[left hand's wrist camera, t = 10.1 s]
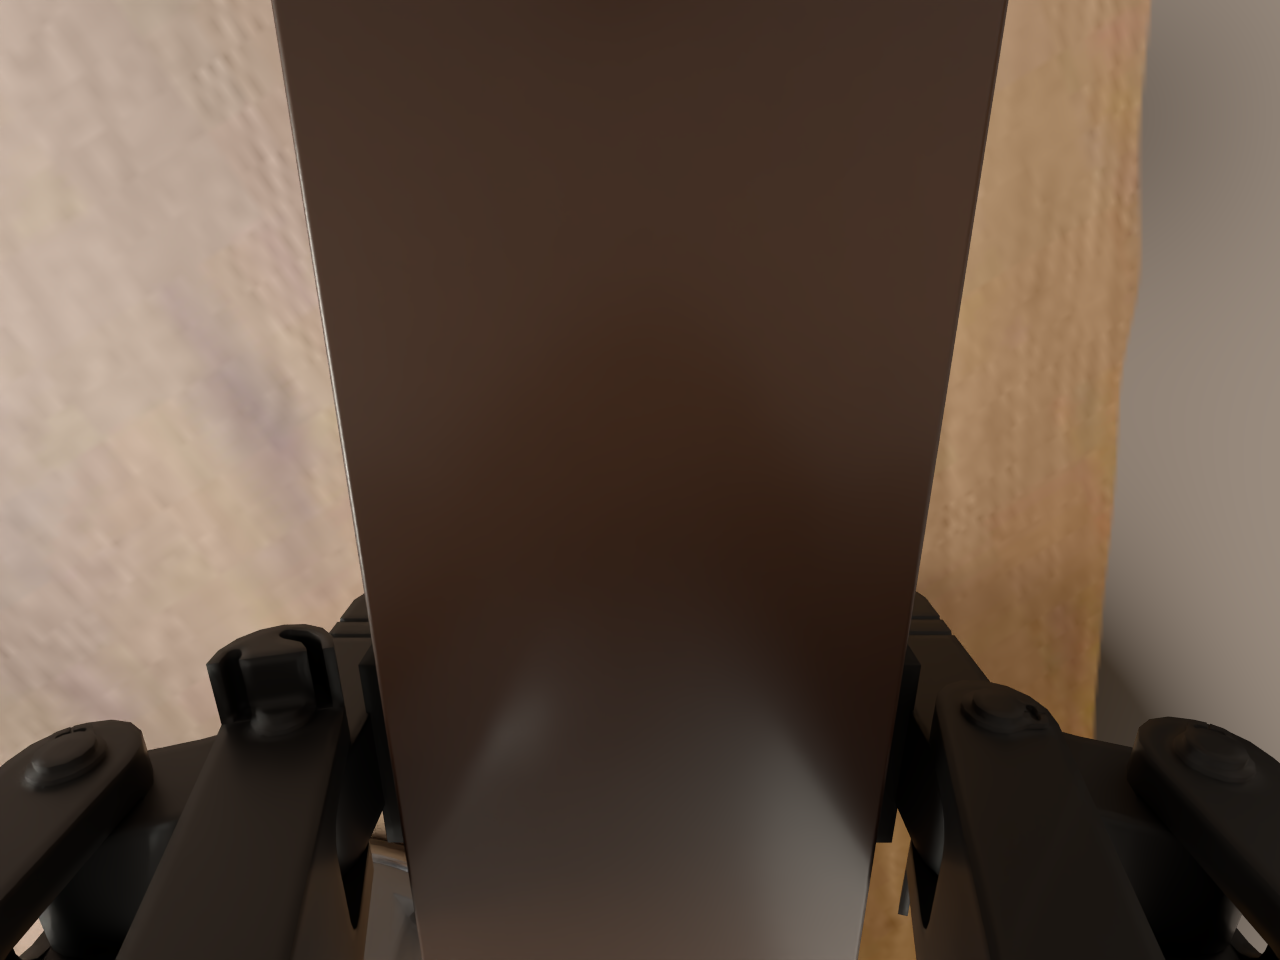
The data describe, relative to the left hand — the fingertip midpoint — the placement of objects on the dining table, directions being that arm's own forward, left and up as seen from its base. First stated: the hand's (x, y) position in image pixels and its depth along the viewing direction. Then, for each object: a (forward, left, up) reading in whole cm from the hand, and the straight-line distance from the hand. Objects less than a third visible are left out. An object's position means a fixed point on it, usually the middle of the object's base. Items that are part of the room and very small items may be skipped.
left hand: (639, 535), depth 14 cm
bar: (+10, 0, 0) cm, 10 cm away
